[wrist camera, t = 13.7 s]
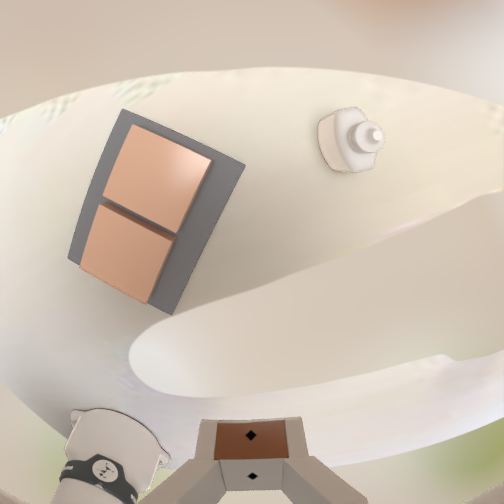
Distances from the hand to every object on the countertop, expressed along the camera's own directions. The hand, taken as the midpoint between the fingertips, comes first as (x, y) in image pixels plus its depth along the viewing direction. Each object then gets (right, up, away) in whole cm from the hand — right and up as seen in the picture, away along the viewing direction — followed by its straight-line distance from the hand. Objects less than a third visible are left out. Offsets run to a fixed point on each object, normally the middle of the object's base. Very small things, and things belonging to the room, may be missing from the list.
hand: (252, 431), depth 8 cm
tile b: (-6, +11, +22) cm, 26 cm away
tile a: (-10, +3, +25) cm, 27 cm away
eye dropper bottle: (+9, +17, +22) cm, 29 cm away
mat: (-12, +10, +24) cm, 28 cm away
